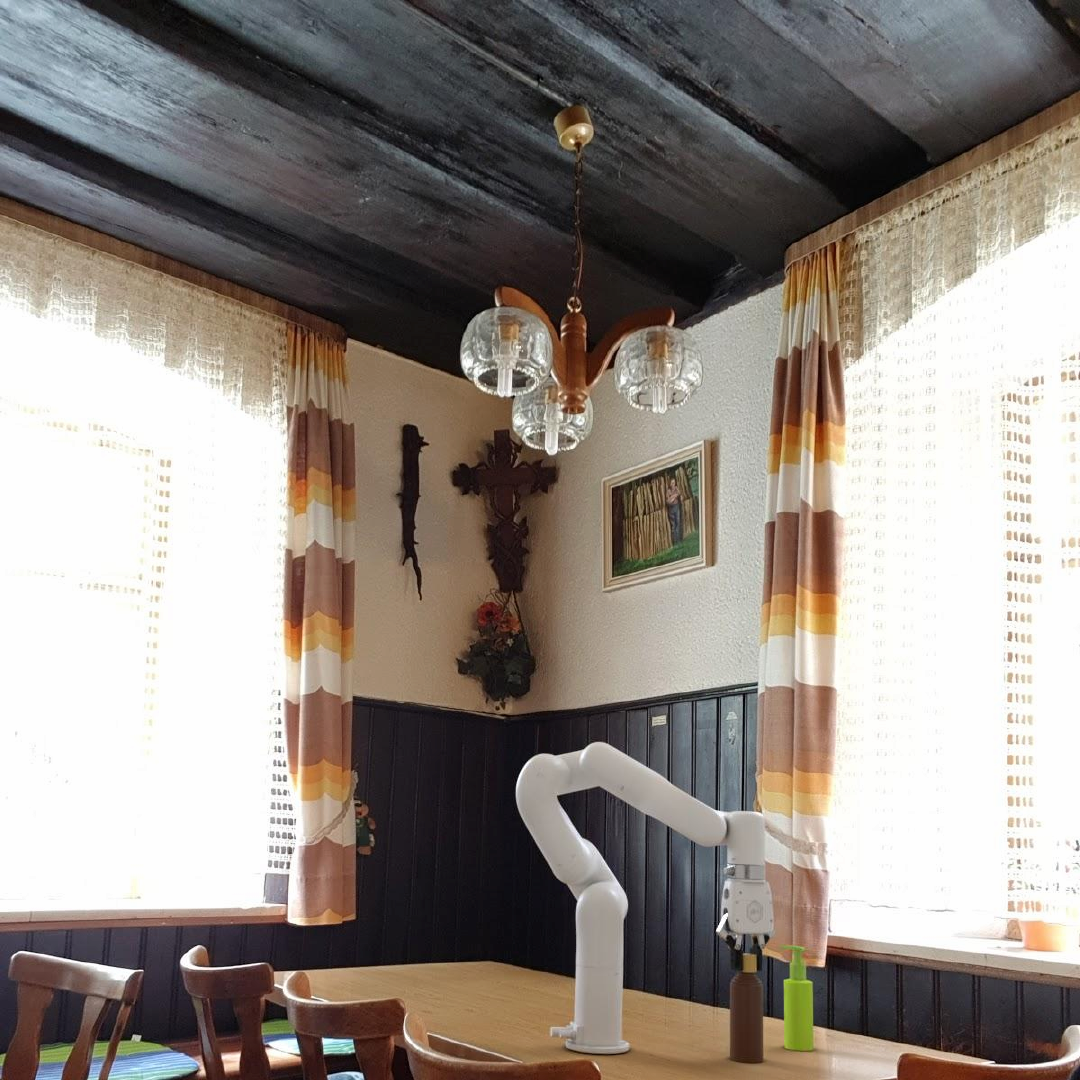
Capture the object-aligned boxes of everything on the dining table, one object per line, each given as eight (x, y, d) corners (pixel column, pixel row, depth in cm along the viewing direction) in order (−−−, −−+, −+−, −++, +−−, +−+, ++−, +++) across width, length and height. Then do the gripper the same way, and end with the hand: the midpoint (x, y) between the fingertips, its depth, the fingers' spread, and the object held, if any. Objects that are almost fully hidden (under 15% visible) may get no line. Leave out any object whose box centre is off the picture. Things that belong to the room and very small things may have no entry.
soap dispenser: (788, 1043, 248) (787, 943, 252) (818, 1048, 243) (816, 946, 248) (774, 1047, 243) (773, 945, 248) (805, 1052, 239) (803, 948, 244)
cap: (744, 972, 230) (744, 955, 230) (732, 970, 233) (732, 953, 234) (760, 972, 231) (760, 955, 232) (748, 969, 235) (748, 953, 236)
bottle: (737, 1063, 225) (737, 958, 229) (724, 1056, 231) (725, 954, 235) (768, 1062, 226) (768, 958, 231) (755, 1056, 232) (755, 955, 237)
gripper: (722, 874, 230) (722, 973, 225) (791, 875, 237) (792, 972, 233) (701, 872, 236) (700, 968, 232) (768, 873, 243) (768, 967, 239)
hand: (746, 969), depth 232 cm, fingers closed on cap, 3 cm apart
